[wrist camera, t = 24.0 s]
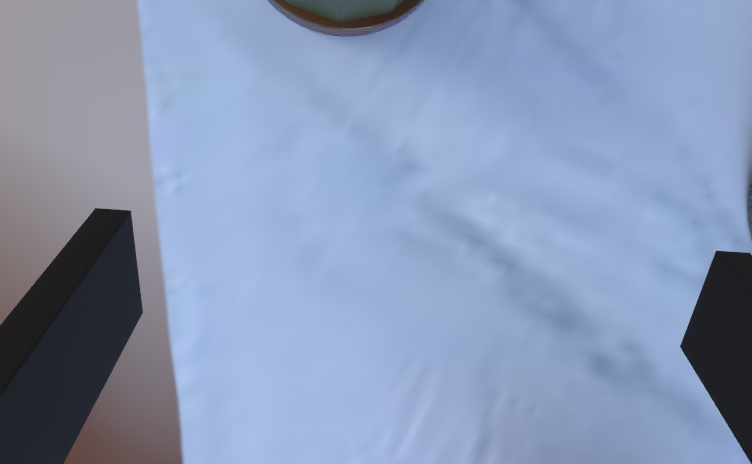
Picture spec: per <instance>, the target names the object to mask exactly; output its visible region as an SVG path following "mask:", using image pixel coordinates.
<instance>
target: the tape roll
mask: <svg viewBox="0 0 752 464" xmlns="http://www.w3.org/2000/svg"><path fill="white" fill-rule="evenodd" d="M284 1H285V2H286V3H287V4H289V5H291V6H294V7H297V8H299V9H302V10H305V11H308V12H311V13H314V14H316V15H319V16H322V17H325V18H328V19H331V20H333V21H336V22H345V21H350V20H355V19H360V18H365V17H371V16H376V15H381V14H386V13H390V12H392V11H393V10H394V9H395V8H396V7H397V6H398V5H400V4H401V3H402V2H403V1H404V0H284Z"/></svg>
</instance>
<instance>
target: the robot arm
mask: <svg viewBox="0 0 752 464" xmlns="http://www.w3.org/2000/svg"><path fill="white" fill-rule="evenodd" d="M749 214H750V225H751V232H752V181H751V188H750V199H749ZM142 313H143V311H142V302H141V293H140V286H139V277H138V268H137V260H136V251H135V243H134V234H133V226H132V218H131V211H127V210H112V209H97V208H96V209H95V210H94V211H93V212H92V213H91V215H90V216H89V217H88V219H87V220H86V221H85V222H84V223H83V224H82V226H81V227H80V228H79V229H78V231H77V232H76V233H75V234H74V235H73V237H72V238H71V239H70V241H69V242H68V243H67V244H66V245H65V247H64V248H63V249H62V250H61V252H60V253H59V254H58V255H57V256H56V258H55V259H54V260H53V261H52V263H51V264H50V265H49V266H48V267H47V269H46V270H45V271H44V272H43V274H42V275H41V276H40V277H39V279H38V280H37V281H36V282H35V284H34V285H33V286H32V287H31V288H30V290H29V291H28V292H27V293H26V294H25V296H24V297H23V298H22V299H21V301H20V302H19V303H18V304H17V306H16V307H15V308H14V309H13V310H12V312H11V313H10V314H9V315H8V317H7V318H6V319H5V321H4V322H3V323H2V324H1V325H0V464H63V463H64V462H65V460H66V457H67V456H68V454H69V452H70V450H71V448H72V446H73V444H74V442H75V441H76V439H77V436H78V435H79V433H80V431H81V429H82V427H83V425H84V423H85V421H86V420H87V418H88V416H89V414H90V412H91V410H92V408H93V406H94V404H95V402H96V400H97V398H98V397H99V395H100V393H101V391H102V389H103V387H104V385H105V383H106V381H107V379H108V378H109V376H110V374H111V372H112V370H113V368H114V366H115V364H116V362H117V360H118V358H119V356H120V355H121V353H122V351H123V349H124V347H125V345H126V343H127V341H128V339H129V338H130V336H131V334H132V332H133V330H134V328H135V326H136V324H137V322H138V320H139V318H140V317H141V315H142ZM680 347H681V349H682V351H683V352H684V354H685V356H686V357H687V359H688V360H689V362H690V364H691V365H692V367H693V369H694V370H695V372H696V374H697V375H698V377H699V379H700V380H701V382H702V383H703V385H704V387H705V388H706V390H707V392H708V393H709V395H710V397H711V398H712V400H713V401H714V403H715V405H716V406H717V408H718V410H719V411H720V413H721V415H722V416H723V418H724V420H725V421H726V423H727V424H728V426H729V428H730V429H731V431H732V433H733V434H734V436H735V438H736V439H737V441H738V443H739V444H740V446H741V447H742V449H743V451H744V452H745V454H746V456H747V457H748V459H749V461H750V462H751V464H752V255H751V254H750V253H740V252H726V251H716V253H715V256H714V258H713V261H712V263H711V266H710V269H709V271H708V274H707V277H706V279H705V282H704V285H703V287H702V290H701V293H700V295H699V298H698V301H697V303H696V306H695V309H694V311H693V314H692V317H691V319H690V322H689V325H688V327H687V330H686V333H685V335H684V338H683V341H682V343H681V346H680Z"/></svg>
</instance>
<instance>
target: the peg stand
mask: <svg viewBox="0 0 752 464" xmlns="http://www.w3.org/2000/svg"><path fill="white" fill-rule="evenodd" d="M268 1H269V2H270V3H271V4H272V5H273V6H274V7H275V8H276V9H277V10H278V11H279V12H281V13H282V14H283V15H285V16H286V17H287V18H289V19H290V20H292V21H294V22H296V23H297V24H299V25H301V26H303V27H306V28H308V29H310V30H313V31H316V32H320V33H324V34H328V35H335V36H359V35H367V34H371V33H374V32H378V31H381V30H383V29H386V28H388V27H391V26H393V25H395V24H396V23H398V22H400V21H401V20H403V19H405V18H406V17H407V16H408V15H410V14H411V13H412V12H413V11H415V10H416V9H417V8H418V7H419V5H420V4H421V3H422V2H423V1H424V0H404V1H403V2H402V3H401V4H400V5H398V6H397V7H396V8H395V9H394V10H393V11H392V12H390V13H386V14H381V15H376V16H371V17H365V18H360V19H355V20H350V21H345V22H336V21H333V20H331V19H328V18H325V17H322V16H319V15H316V14H314V13H311V12H308V11H305V10H302V9H299V8H297V7H294V6H291V5H289V4H287V3H286V2H285V1H284V0H268Z"/></svg>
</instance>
